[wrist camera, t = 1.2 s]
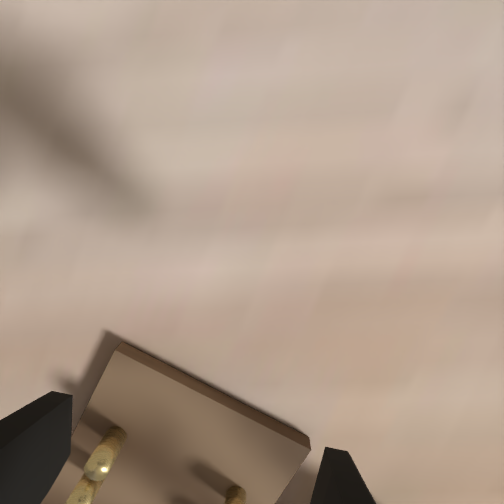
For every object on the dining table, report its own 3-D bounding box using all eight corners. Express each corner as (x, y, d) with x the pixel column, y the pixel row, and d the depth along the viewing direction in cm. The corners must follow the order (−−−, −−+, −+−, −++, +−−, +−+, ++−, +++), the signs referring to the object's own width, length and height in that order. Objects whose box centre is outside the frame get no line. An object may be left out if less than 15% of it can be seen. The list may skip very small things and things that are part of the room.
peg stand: (214, 578, 23) (205, 647, 20) (43, 497, 23) (4, 554, 19) (309, 437, 21) (317, 487, 18) (122, 341, 20) (92, 375, 17)
